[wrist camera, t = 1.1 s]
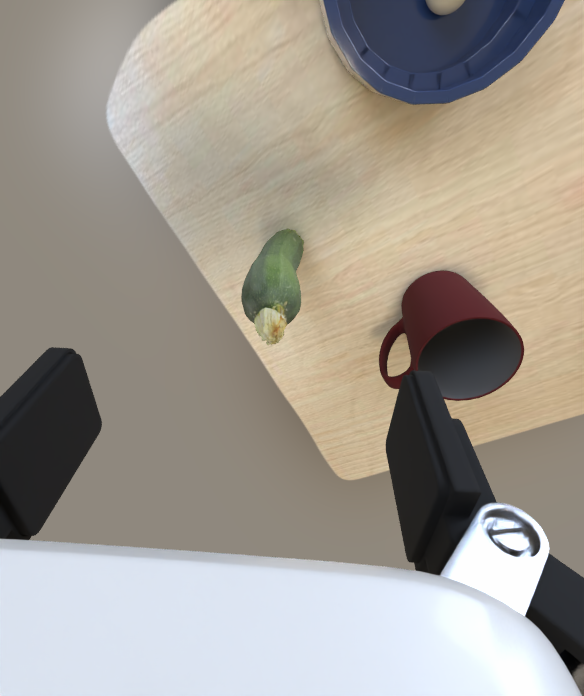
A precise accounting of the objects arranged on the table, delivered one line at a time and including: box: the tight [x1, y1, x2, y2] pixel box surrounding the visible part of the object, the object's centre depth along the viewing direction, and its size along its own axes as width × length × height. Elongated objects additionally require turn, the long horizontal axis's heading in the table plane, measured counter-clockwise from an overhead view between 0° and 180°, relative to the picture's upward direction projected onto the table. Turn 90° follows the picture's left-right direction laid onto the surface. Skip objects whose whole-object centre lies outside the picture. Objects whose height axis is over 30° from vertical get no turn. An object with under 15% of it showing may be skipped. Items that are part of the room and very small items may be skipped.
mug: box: [379, 271, 524, 401], centre depth 39 cm, size 12×9×11 cm
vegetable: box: [242, 229, 304, 345], centre depth 31 cm, size 4×4×20 cm
